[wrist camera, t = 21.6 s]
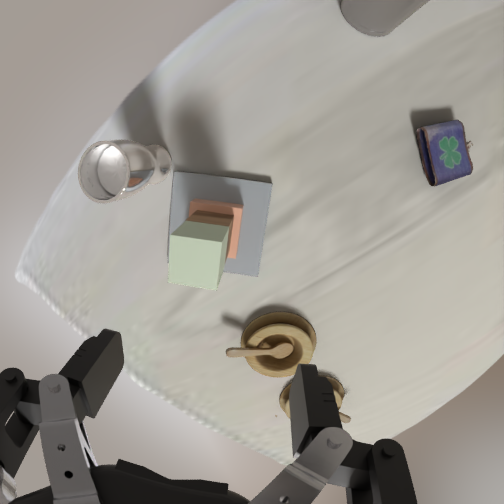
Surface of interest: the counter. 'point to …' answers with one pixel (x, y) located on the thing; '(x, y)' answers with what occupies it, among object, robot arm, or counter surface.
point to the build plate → (230, 194)
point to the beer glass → (121, 169)
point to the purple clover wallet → (444, 152)
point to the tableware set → (281, 350)
